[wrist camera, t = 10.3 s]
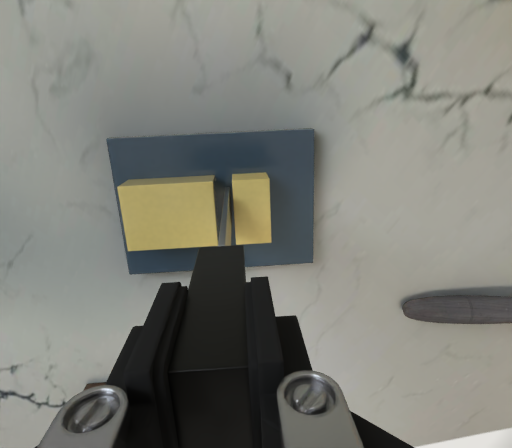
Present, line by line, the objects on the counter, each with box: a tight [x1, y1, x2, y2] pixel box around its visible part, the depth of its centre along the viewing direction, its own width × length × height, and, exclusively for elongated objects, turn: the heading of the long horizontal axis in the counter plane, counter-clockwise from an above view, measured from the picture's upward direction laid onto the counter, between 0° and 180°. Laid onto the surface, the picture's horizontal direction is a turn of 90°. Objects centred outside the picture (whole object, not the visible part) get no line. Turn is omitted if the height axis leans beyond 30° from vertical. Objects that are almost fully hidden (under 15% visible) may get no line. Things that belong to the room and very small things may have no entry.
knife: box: [168, 187, 253, 448], centre depth 16 cm, size 2×2×18 cm
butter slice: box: [232, 172, 271, 245], centre depth 24 cm, size 2×4×2 cm, turn 2°
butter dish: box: [106, 128, 314, 274], centre depth 24 cm, size 14×10×3 cm
